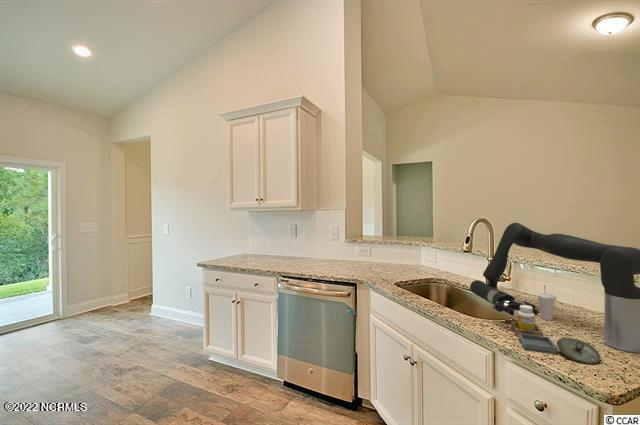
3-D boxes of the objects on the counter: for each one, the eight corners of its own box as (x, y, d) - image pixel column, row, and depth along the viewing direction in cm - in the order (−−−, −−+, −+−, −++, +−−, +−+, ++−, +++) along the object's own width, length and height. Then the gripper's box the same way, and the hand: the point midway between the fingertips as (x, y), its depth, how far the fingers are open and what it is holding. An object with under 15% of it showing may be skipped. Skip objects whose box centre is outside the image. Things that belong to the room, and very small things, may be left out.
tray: (548, 342, 103) (548, 337, 103) (557, 354, 95) (557, 348, 95) (518, 338, 106) (518, 333, 106) (524, 349, 98) (524, 343, 98)
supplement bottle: (518, 328, 116) (518, 303, 116) (535, 331, 112) (535, 306, 112) (516, 332, 111) (516, 307, 111) (534, 336, 108) (534, 310, 108)
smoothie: (538, 314, 130) (538, 282, 130) (557, 318, 125) (557, 285, 125) (535, 318, 125) (535, 285, 125) (554, 322, 121) (554, 288, 121)
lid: (585, 350, 98) (585, 335, 97) (610, 366, 88) (610, 349, 88) (549, 348, 99) (549, 333, 99) (570, 363, 89) (570, 347, 89)
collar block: (536, 329, 114) (536, 324, 114) (542, 338, 106) (542, 332, 106) (511, 326, 117) (511, 321, 117) (515, 334, 110) (515, 329, 110)
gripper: (483, 291, 129) (505, 303, 113) (517, 291, 128) (544, 303, 112) (484, 308, 129) (505, 322, 113) (517, 308, 128) (544, 322, 112)
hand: (524, 312), depth 113 cm, fingers open, 8 cm apart
